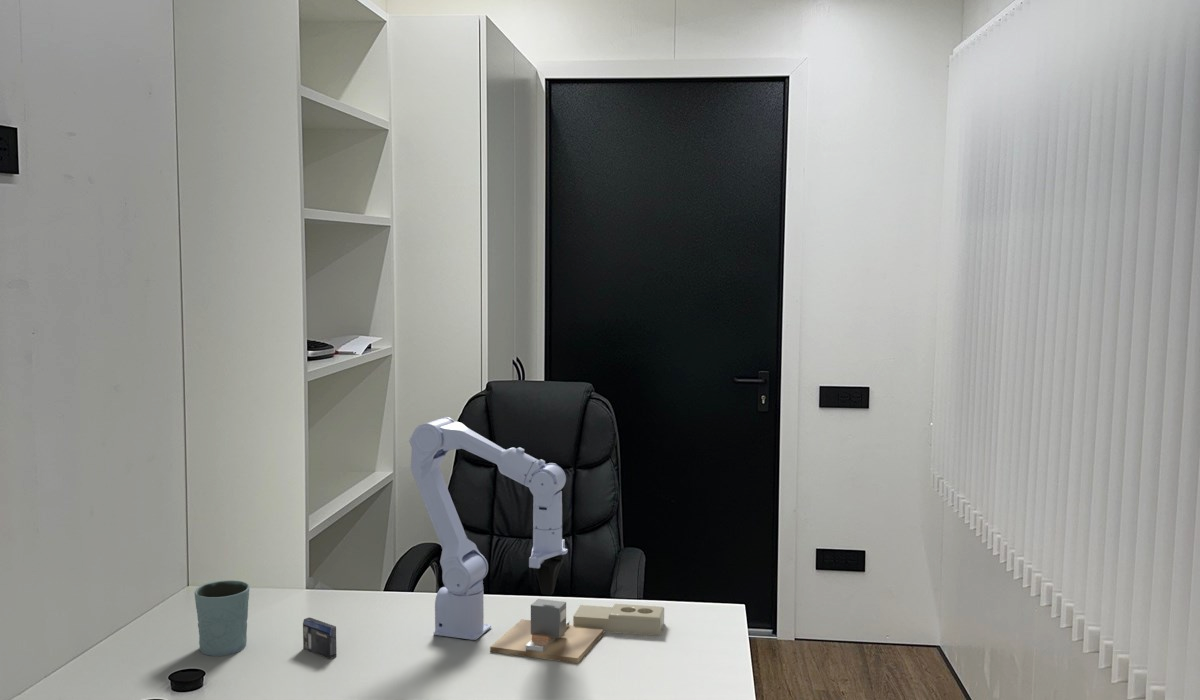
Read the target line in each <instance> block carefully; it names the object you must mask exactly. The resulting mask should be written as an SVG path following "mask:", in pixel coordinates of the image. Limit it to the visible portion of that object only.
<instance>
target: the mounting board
mask: <svg viewBox="0 0 1200 700" xmlns="http://www.w3.org/2000/svg"><path fill="white" fill-rule="evenodd" d="M604 633H605V632H604V629H597V628H589V627H580V626H573V625H572V624H569V627H568V628H567V629H566V632H565V633H564V634H563V635H562V636H561V637H560V638H557V639H556V640H555V641H554V642H553V643H552V644H551V645H550V646H549V647H548V648H547V649H546V650H545V651H544V652H535V651H527V650H526V645H527V644H528V643H529V642H530V641H531V640H532V635H531V619H530V620H529V619H520V620H519V621H518V622H517V623H515V625H514V626H512V627H511V628H510V629H509V630H508V631H506V632H505V633H504V634H503V635H502V636H500V638H498V639H497V640H496V641H495V642H494V643H493V644H492V645H490V646H489V651H490V653H498V654H504V655H505V654H506V655H513V656H520V657H527V658H535V659H543V660H551V661H557V662H564V663H572V664H578V663H580V661H582V659H583V658H584V657H585V656H586V655H587V654H588V653H589V651H590V650H591V649H592V648H593V646H594V645H595V644H596V643H597V642H598V641H599V640H600V639H601V637H603V635H604Z"/></svg>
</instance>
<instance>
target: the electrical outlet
mask: <svg viewBox="0 0 1200 700" xmlns="http://www.w3.org/2000/svg"><path fill="white" fill-rule="evenodd" d="M572 621H573V622H572V623H573V625H572V626H580V627H589V628H597V629H604V633H605V632H606V633H615V634H617V633H618V634H629V635H630V634H631V635H645V636H659V637H660V636H661V634H662V631H663V628H664V625H665V608H664V607H663V606H655V605H653V606H652V605H641V604H625V603H623V604H622V603H614V604H613V606H601V605H585V604H580V605H579V606H578V608H577V610H576V612H575V613H574V615H573V618H572Z"/></svg>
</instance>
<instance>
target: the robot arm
mask: <svg viewBox="0 0 1200 700" xmlns="http://www.w3.org/2000/svg"><path fill="white" fill-rule="evenodd" d="M408 442H409V444H410V447H411V454H410V470H411V471H410V472H411V473H412V476H413V478H414V481H415V484H416V485H417V488H418V490H419V493H420V496H421V498H422V500H423V503H424V506H425V508H426V509H425V510H427V511H426V512H427V514H428V516H429V518H430V522H431V523H432V524H431V525H432V526H433V530H434V531H435V534H436V536H437V538H438V541H439V543H440V546H441V550H442V551H441V555H440V560H439V563H440V566H441V570H442V572H441V573H442V575H441V577H442V583H443V586H442V587H440V588H439V590H438V591H437V593H436V597H435V601H434V631H433V635H434V636H440V637H448V638H456V639H464V640H470V641H471V640H472V641H476V640H477V639H478V638H480V637H481V636H482V635H483V634H484V633H486V632H487V631H488V630H490V629H491V628H492V625H491V624H489V623H488V624H487V623H485V622H484V621H485V620H484V619H485V618H484V616H485V615H484V614H485V613H484V610H485V609H484V584H483V583H484V581H483V580H484V579H485V578H486V576H487V574H488V572H489V563H488V560H487V559H486V558H485V556H484V555H483V554H482V553H481V552H480V550H479V548H478V547H477V546H478V545H476V543H475V542H473V541H472V540H470V539H469V538H468V536H467V534H466V531H465V530H464V526H463V524H462V521H461V519H460V517H459V514H458V512H457V510H456V509H457V508H456V506H455V504H454V502H453V500H452V497H451V494H450V492H449V489H448V486H447V483H446V481H445V478H444V475H443V473H442V472H441V468H440V467H441V464H442V463H443V460H444V458H445V456H446V454H447V453H448V452H449V451H454V450H461V449H462V450H465V451H467V452H469V453H471V454H473V455H476V456H478V457H480V458H482V459H484V460H487V461H488V462H491V463H493V464H495V465H497V469H498V471H499V473H500V474H501V475H504V476H505V477H508V478H509V479H511V480H514V481H515V482H517V483H519V484H521V485H523V486H525V487H527V488H528V489H529V491H530V493H531V494H532V496H533V498H532V499H533V503H532V507H533V509H532V523H533V524H532V525H533V526H532V529H533V530H532V548H531V553H530V554H531V555H530V557H528V567H529V568H532V569H533V570H534V572H535V575H536V578H537V581H538V585H539V590H540V593H541V595H544V596H545V595H546V596H548V595H549V596H552V595H553V594H554V591H555V589H556V584H557V579H558V575H559V571H560V569H561V567H562V564H563V563H564V561H565V557H564V556H563V555H566V554H568V551H569V549H568V548H566V545H565V544H566V543H565V542H566V540H565V539H563V491H562V489H563V488H564V487H565V485H566V482H567V476H566V473H565V471H564V469H563V468H562V467H561V466H560V465H558V464H557V463H554V462H549V463H546V460H544V459H542V458H541V459H538V458H535V457H533V456H532V455H530V454H528V453H526V452H525V448H522V447H520V446H519V447H517V448H516V447H510V448H507V449H505V448H503V447H502V446H500V445H498V444H496V443H495V442H493V441H491V440H489V439H488V438H486V437H485V436H482V435H481V434H479V433H477V432H476V431H474V430H472V429H471V428H469V427H467V426H466V425H465V424H464V423H463V422H459V421H457V420H454V419H453V418H451V417H448V416H443V417H442V416H441V417H439V418H438V419H435V420H432V421H429V422H424V423H422V424H419V425H418V426H417V427H416V428H415V429H414V430H413V432H412V434H411V437H410V438H409V440H408Z"/></svg>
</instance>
